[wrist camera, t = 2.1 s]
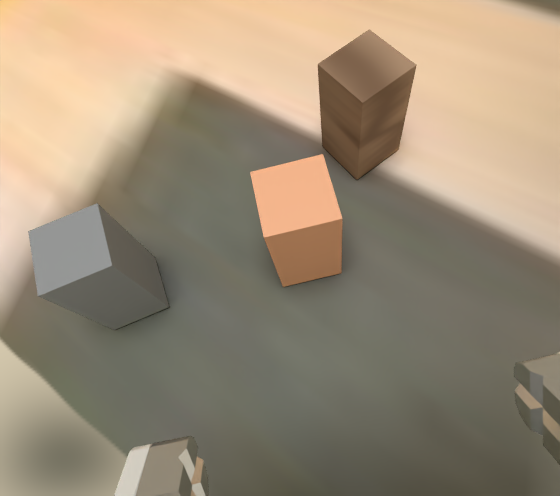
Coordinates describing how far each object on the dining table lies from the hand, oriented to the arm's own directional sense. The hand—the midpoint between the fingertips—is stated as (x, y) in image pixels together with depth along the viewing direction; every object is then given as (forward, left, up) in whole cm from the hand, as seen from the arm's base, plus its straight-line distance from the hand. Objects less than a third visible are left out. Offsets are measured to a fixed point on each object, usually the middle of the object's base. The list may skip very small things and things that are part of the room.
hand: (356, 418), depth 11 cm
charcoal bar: (+11, -15, -19) cm, 26 cm away
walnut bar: (-10, -19, -19) cm, 29 cm away
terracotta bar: (-2, -12, -19) cm, 23 cm away
